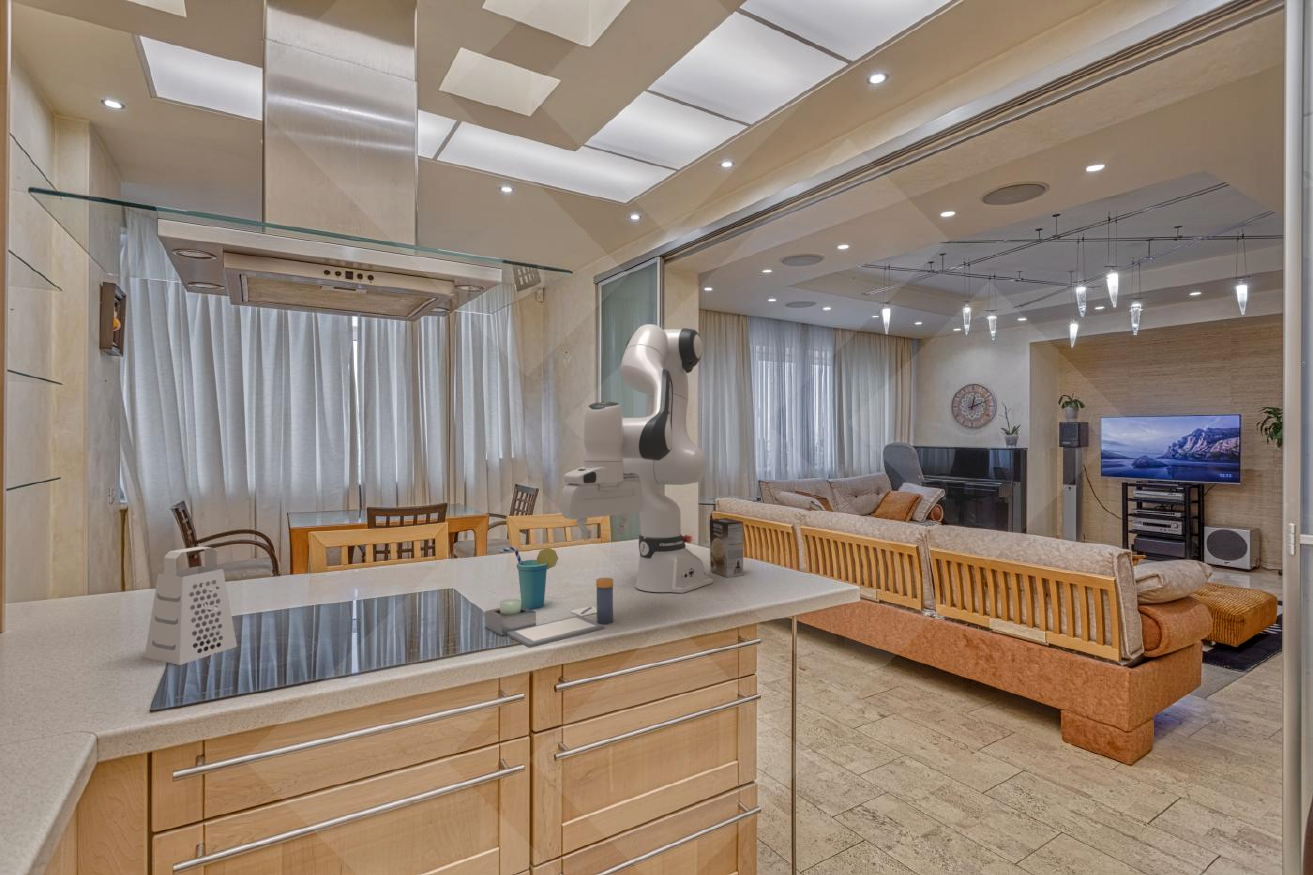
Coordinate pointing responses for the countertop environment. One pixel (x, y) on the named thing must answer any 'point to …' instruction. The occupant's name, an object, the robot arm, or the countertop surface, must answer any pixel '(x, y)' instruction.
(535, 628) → the board
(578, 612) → the card
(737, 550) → the coffee box
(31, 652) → the countertop surface
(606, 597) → the orange capped blue bottle
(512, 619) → the button housing
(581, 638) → the countertop surface
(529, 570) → the cup
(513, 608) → the button
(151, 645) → the grater
